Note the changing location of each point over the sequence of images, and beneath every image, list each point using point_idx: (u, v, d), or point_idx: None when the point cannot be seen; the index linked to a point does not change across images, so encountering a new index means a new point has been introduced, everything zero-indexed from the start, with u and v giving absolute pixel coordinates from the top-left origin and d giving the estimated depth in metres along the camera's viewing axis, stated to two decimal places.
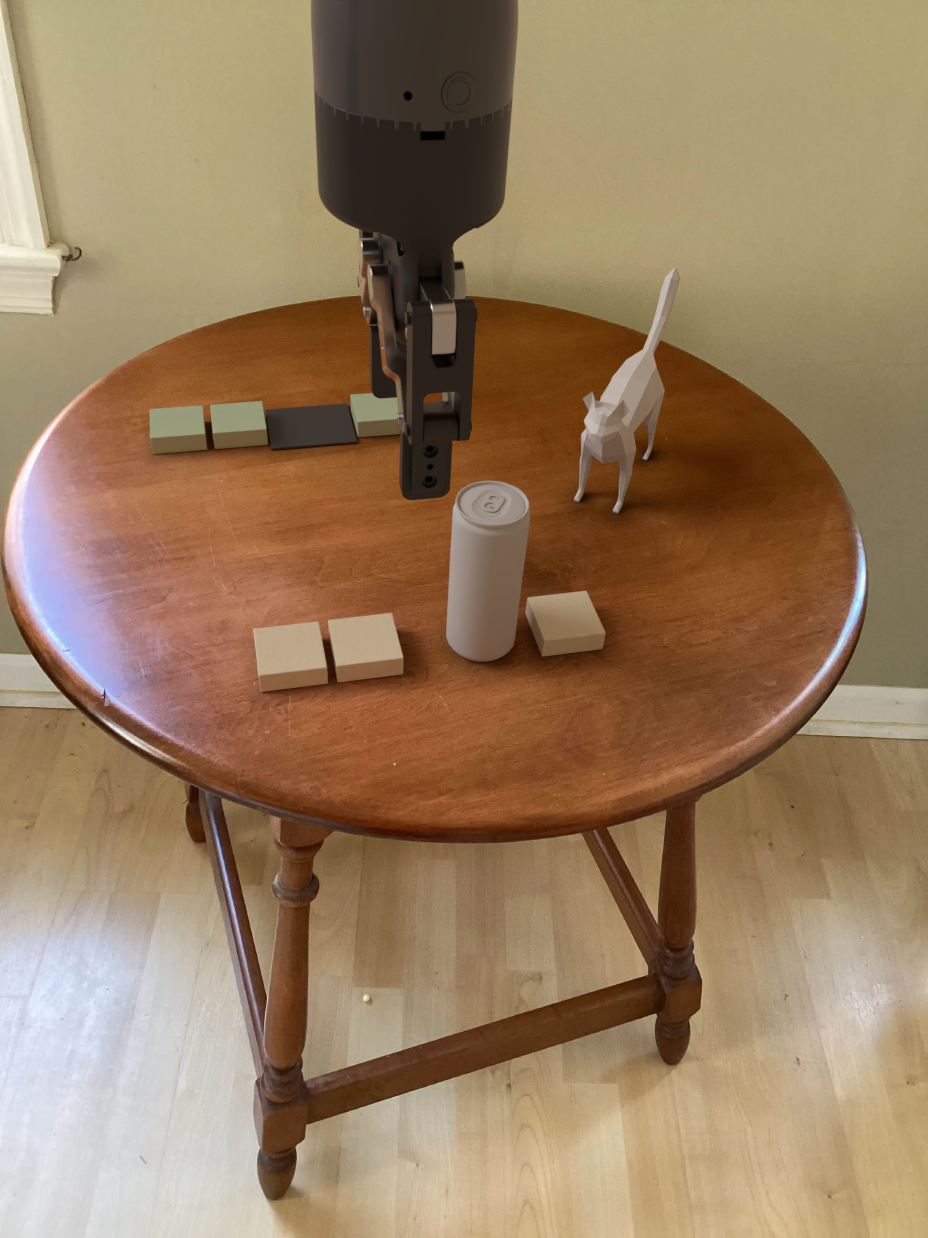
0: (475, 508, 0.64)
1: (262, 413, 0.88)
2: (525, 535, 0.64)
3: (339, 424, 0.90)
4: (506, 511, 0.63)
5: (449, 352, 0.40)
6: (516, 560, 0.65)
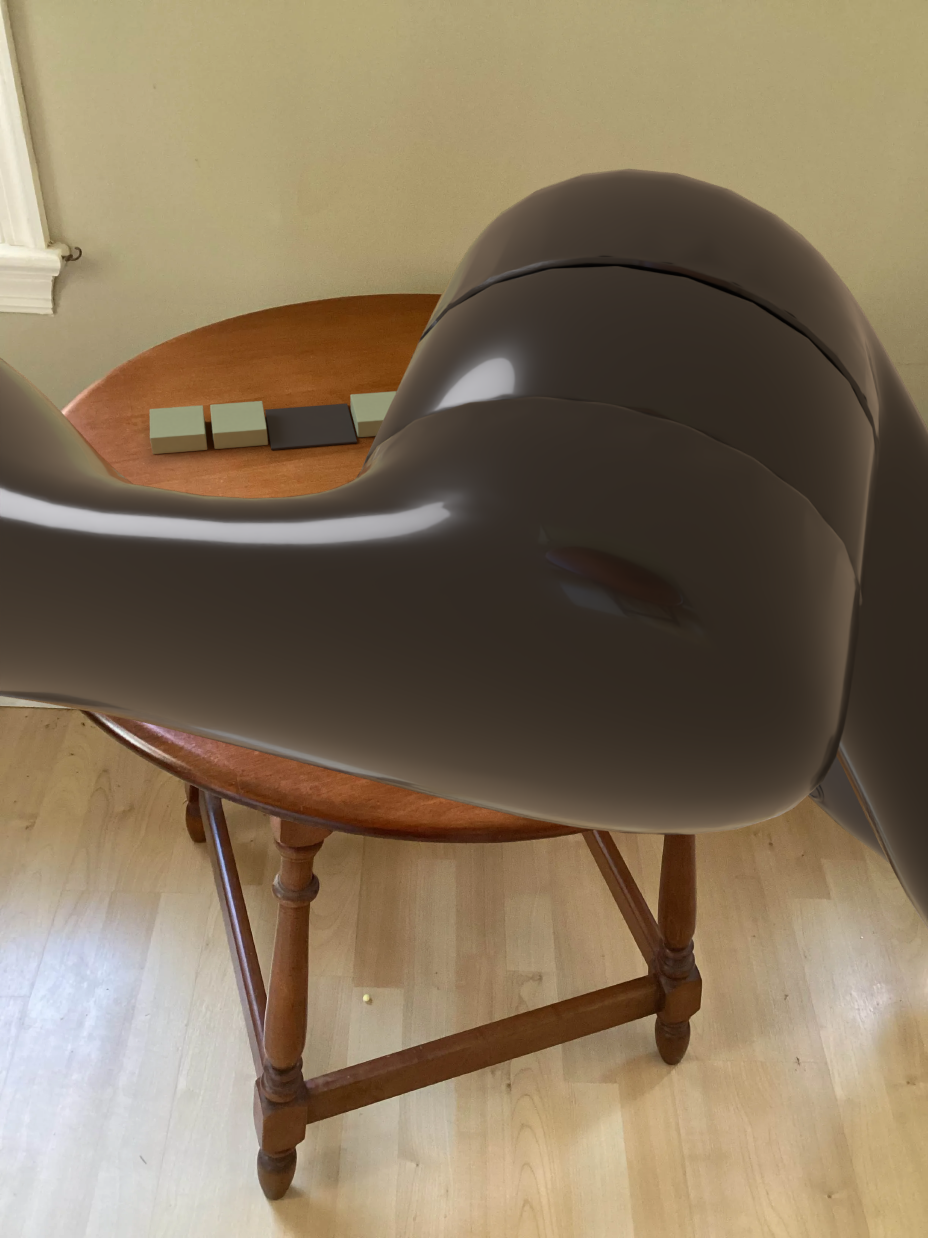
0: None
1: (262, 413, 0.88)
2: None
3: (339, 424, 0.90)
4: None
5: None
6: None
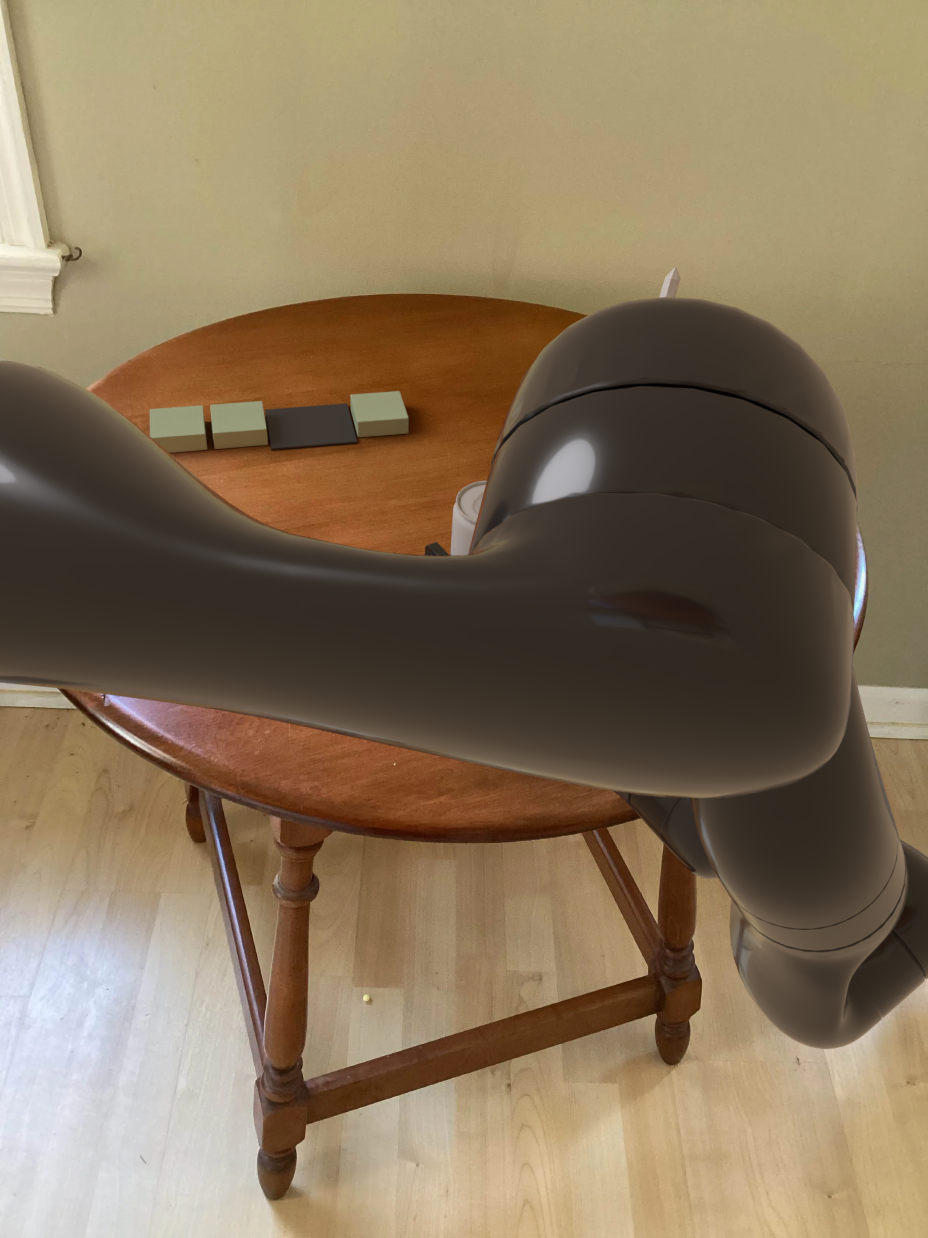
0: (475, 508, 0.64)
1: (262, 413, 0.88)
2: None
3: (339, 424, 0.90)
4: None
5: None
6: None
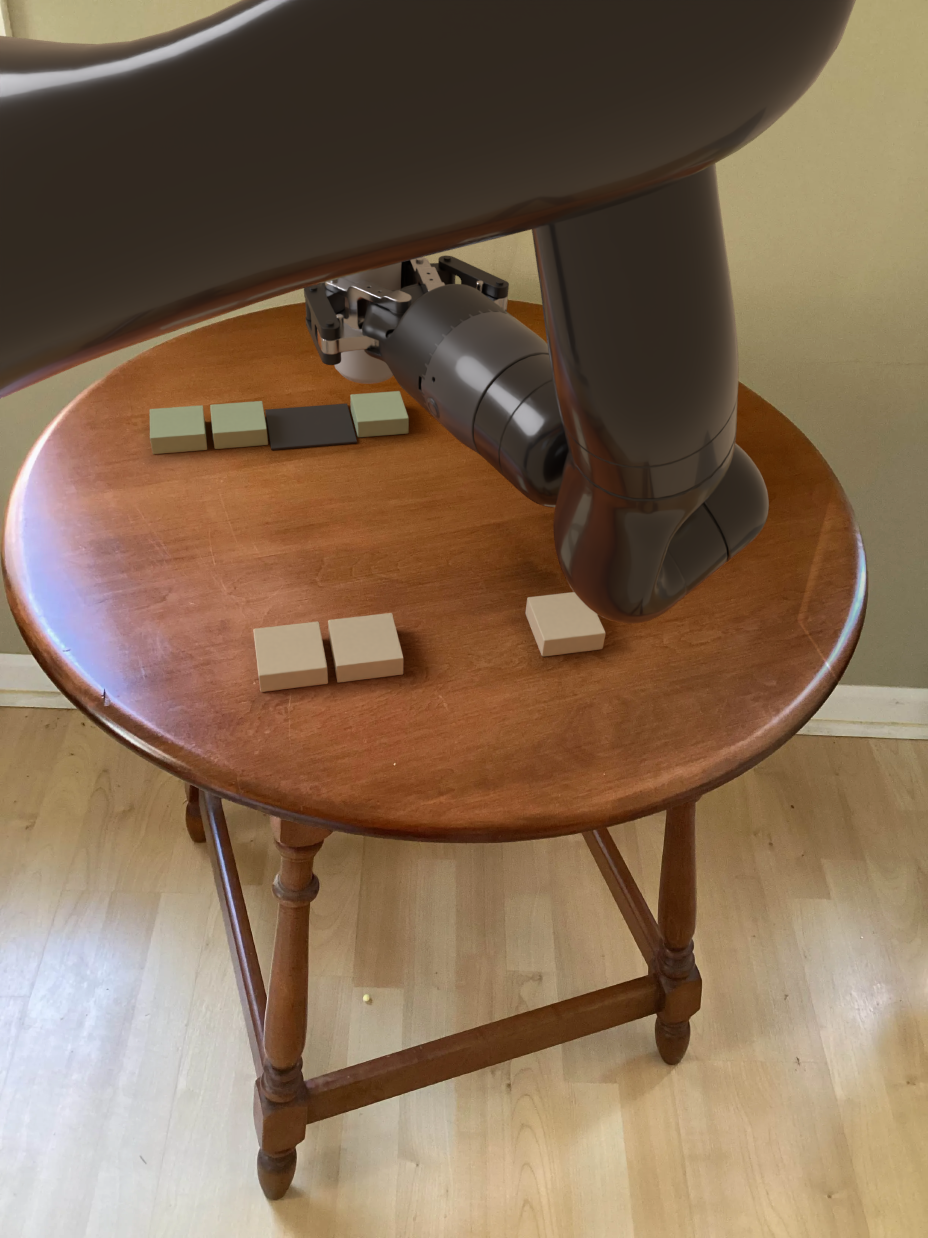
0: None
1: (262, 413, 0.88)
2: None
3: (339, 424, 0.90)
4: None
5: None
6: None
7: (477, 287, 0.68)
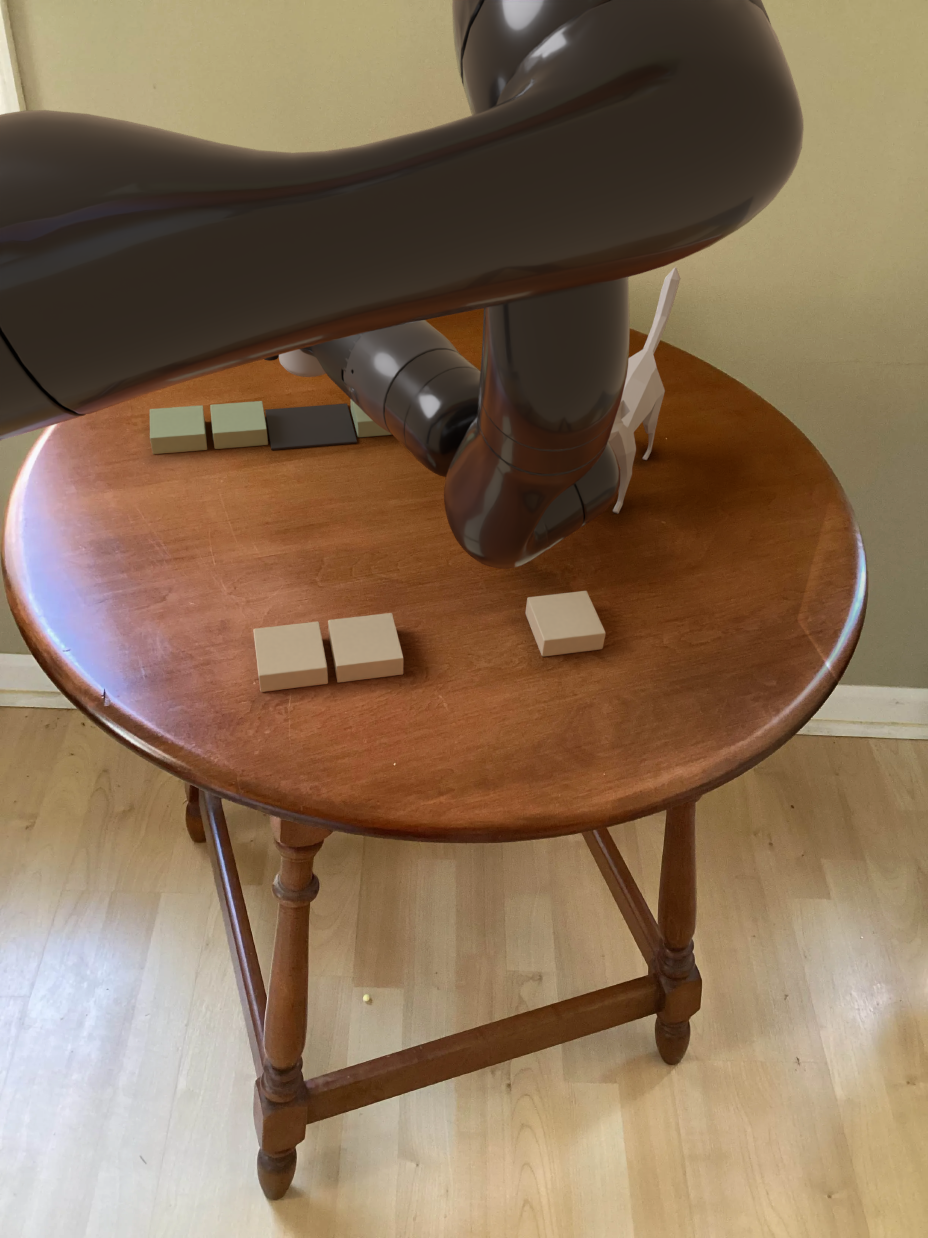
0: None
1: (262, 413, 0.88)
2: None
3: (339, 424, 0.90)
4: None
5: None
6: None
7: None
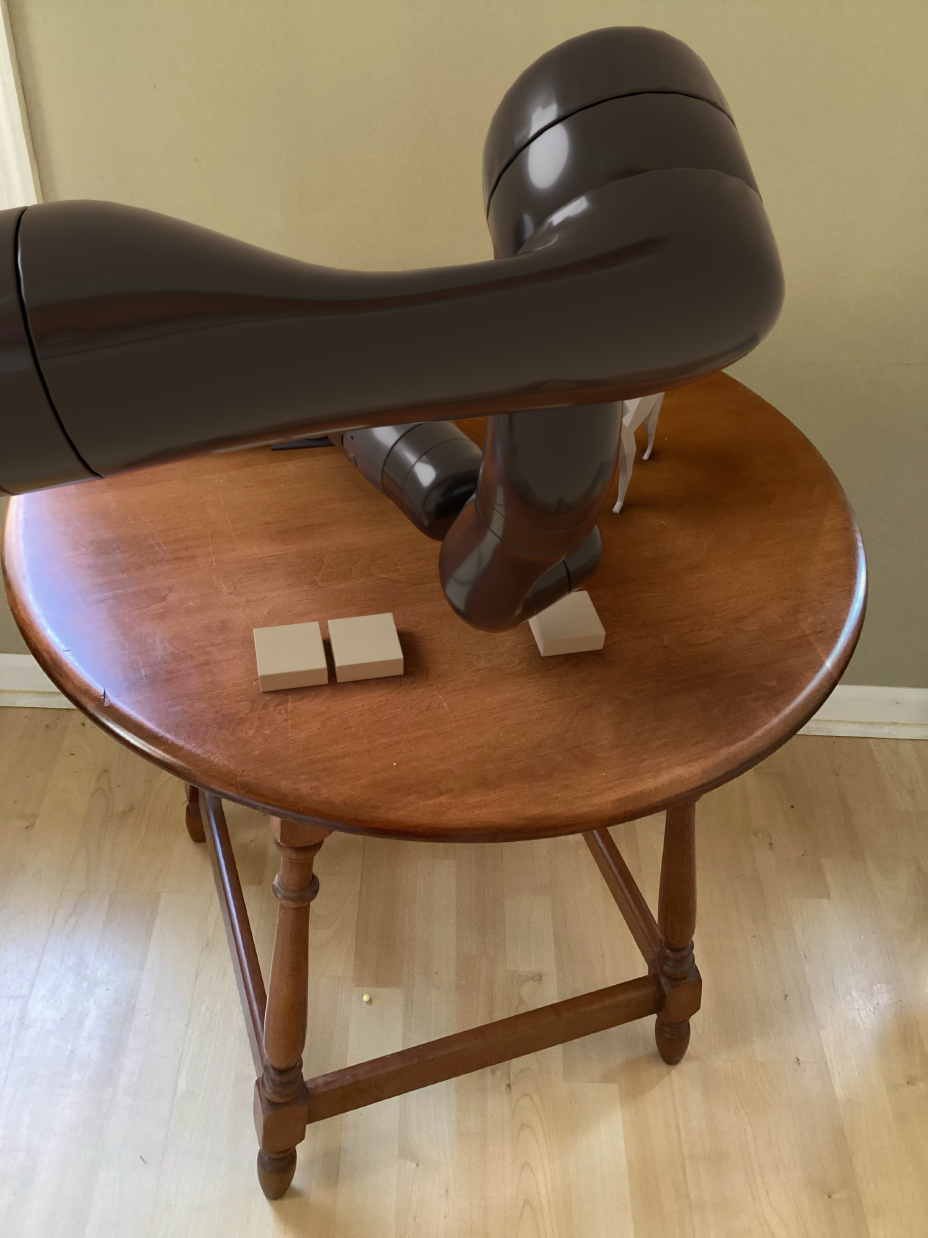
0: None
1: None
2: None
3: None
4: None
5: None
6: None
7: None
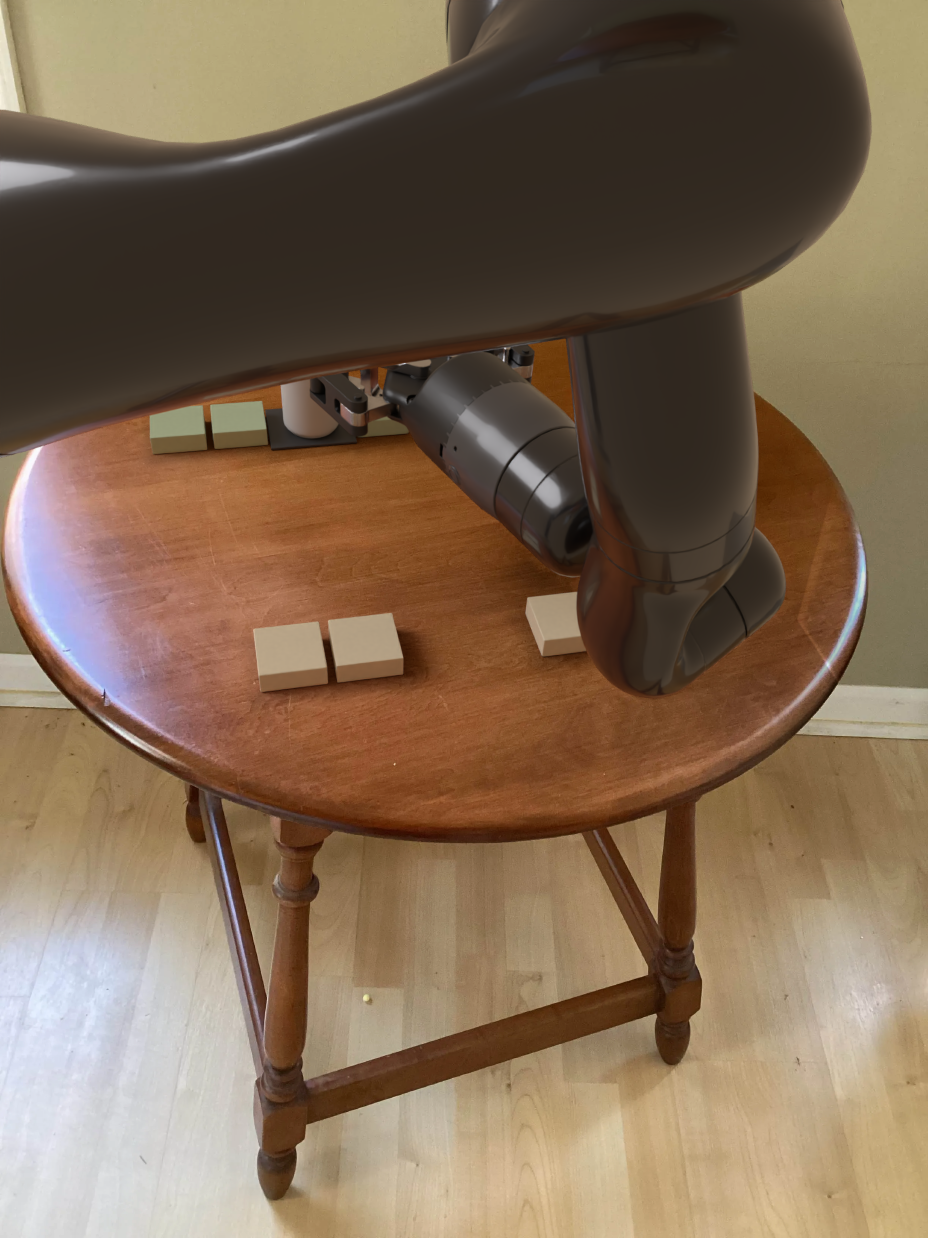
0: None
1: (262, 413, 0.88)
2: None
3: (339, 424, 0.90)
4: None
5: (340, 410, 0.65)
6: None
7: (504, 351, 0.69)
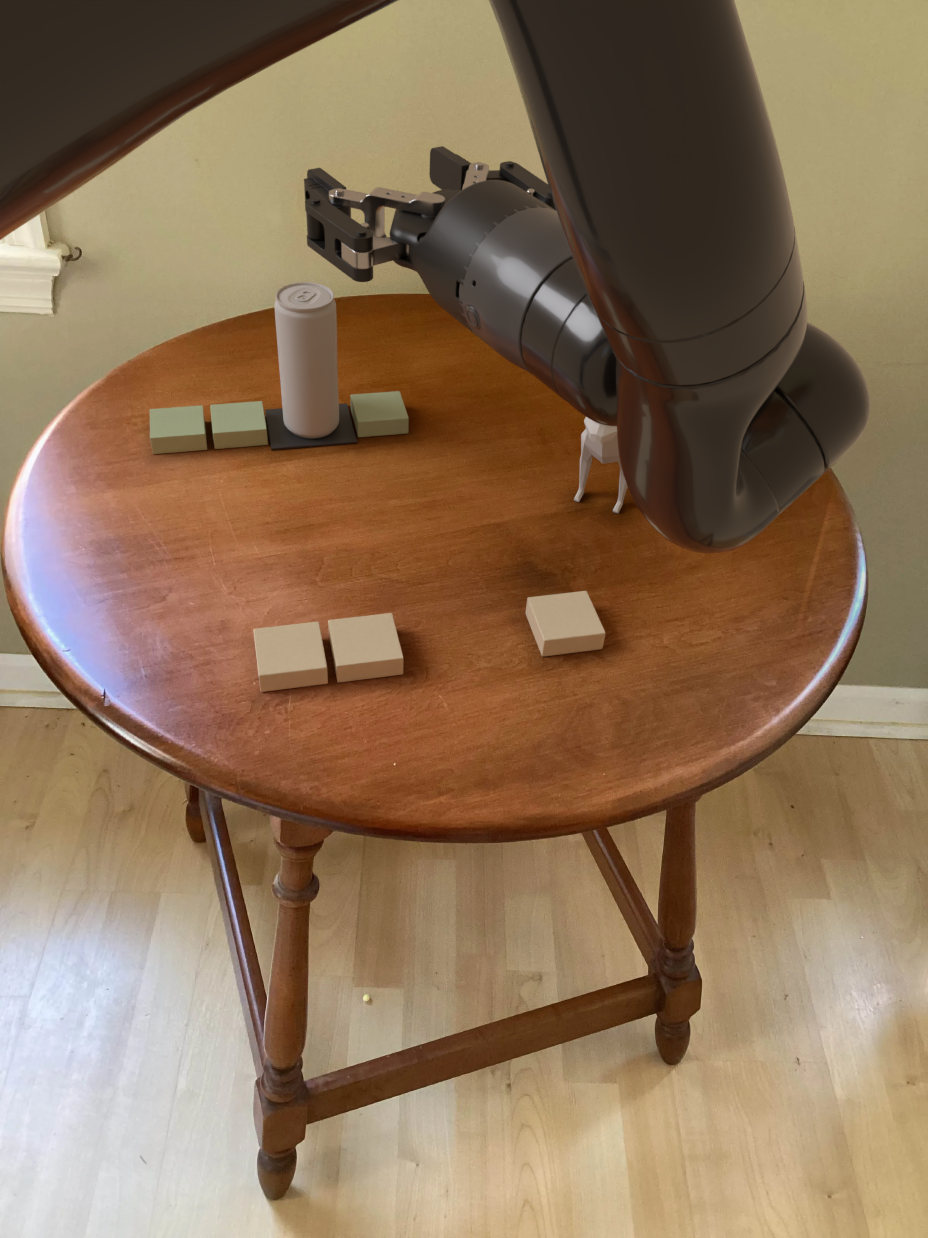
0: (290, 299, 0.81)
1: (262, 413, 0.88)
2: (331, 322, 0.82)
3: (339, 424, 0.90)
4: (315, 300, 0.81)
5: (341, 253, 0.57)
6: (326, 343, 0.83)
7: None
